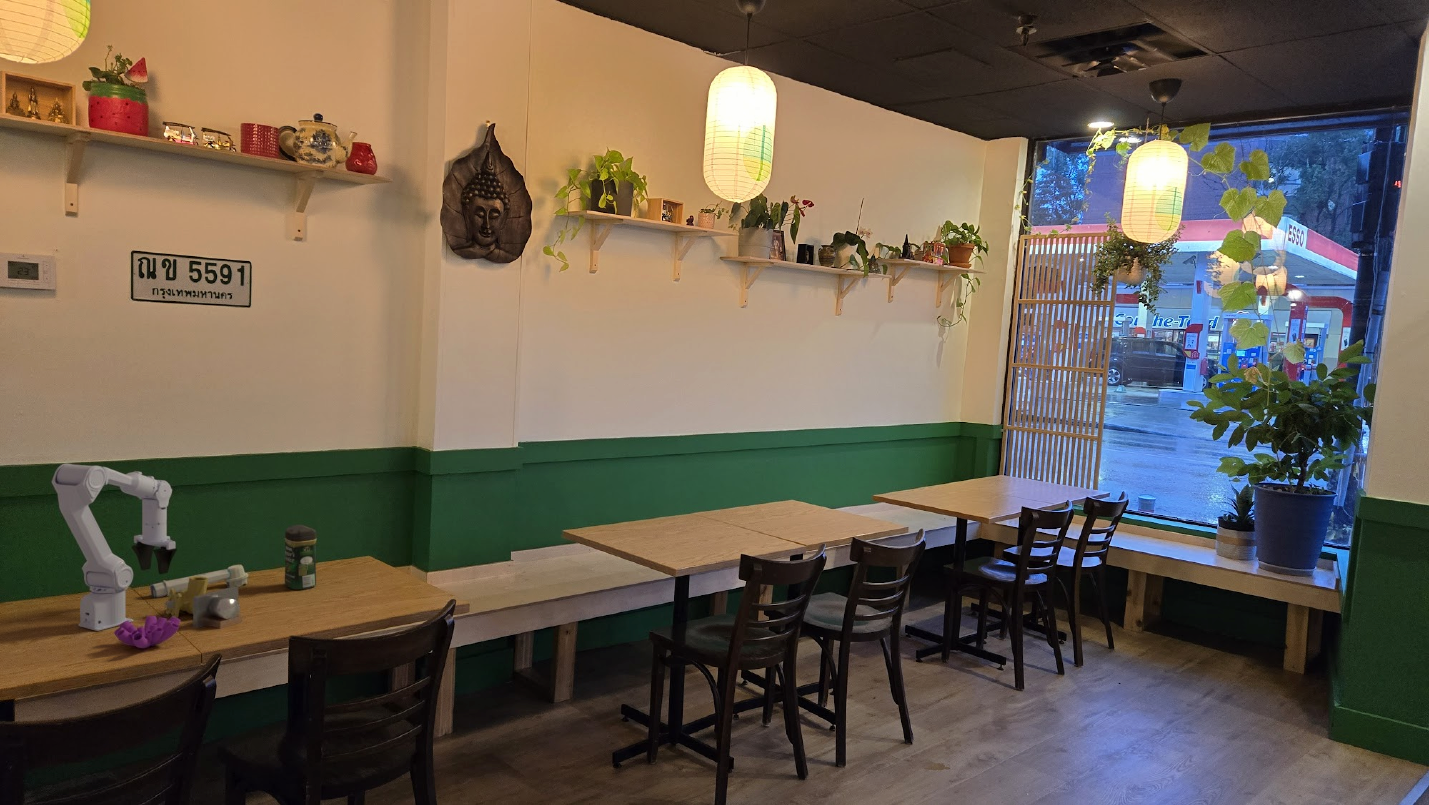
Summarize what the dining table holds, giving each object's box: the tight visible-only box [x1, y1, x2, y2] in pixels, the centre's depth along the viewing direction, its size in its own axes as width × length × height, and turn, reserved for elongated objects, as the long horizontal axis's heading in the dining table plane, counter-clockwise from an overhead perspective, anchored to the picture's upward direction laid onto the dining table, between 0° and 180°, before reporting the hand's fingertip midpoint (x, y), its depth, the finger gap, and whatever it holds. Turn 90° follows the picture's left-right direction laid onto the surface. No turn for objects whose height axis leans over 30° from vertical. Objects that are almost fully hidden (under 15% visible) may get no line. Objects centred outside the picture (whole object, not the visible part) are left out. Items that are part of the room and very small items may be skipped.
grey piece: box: [149, 564, 249, 599], centre depth 273 cm, size 5×7×25 cm
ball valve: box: [164, 575, 209, 619], centre depth 250 cm, size 13×10×10 cm
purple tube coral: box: [113, 615, 181, 649], centre depth 226 cm, size 11×15×10 cm
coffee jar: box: [284, 524, 318, 591], centre depth 280 cm, size 10×8×19 cm
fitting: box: [192, 586, 243, 629], centre depth 244 cm, size 12×7×8 cm, turn 156°
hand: (154, 571), depth 255 cm, fingers open, 7 cm apart
